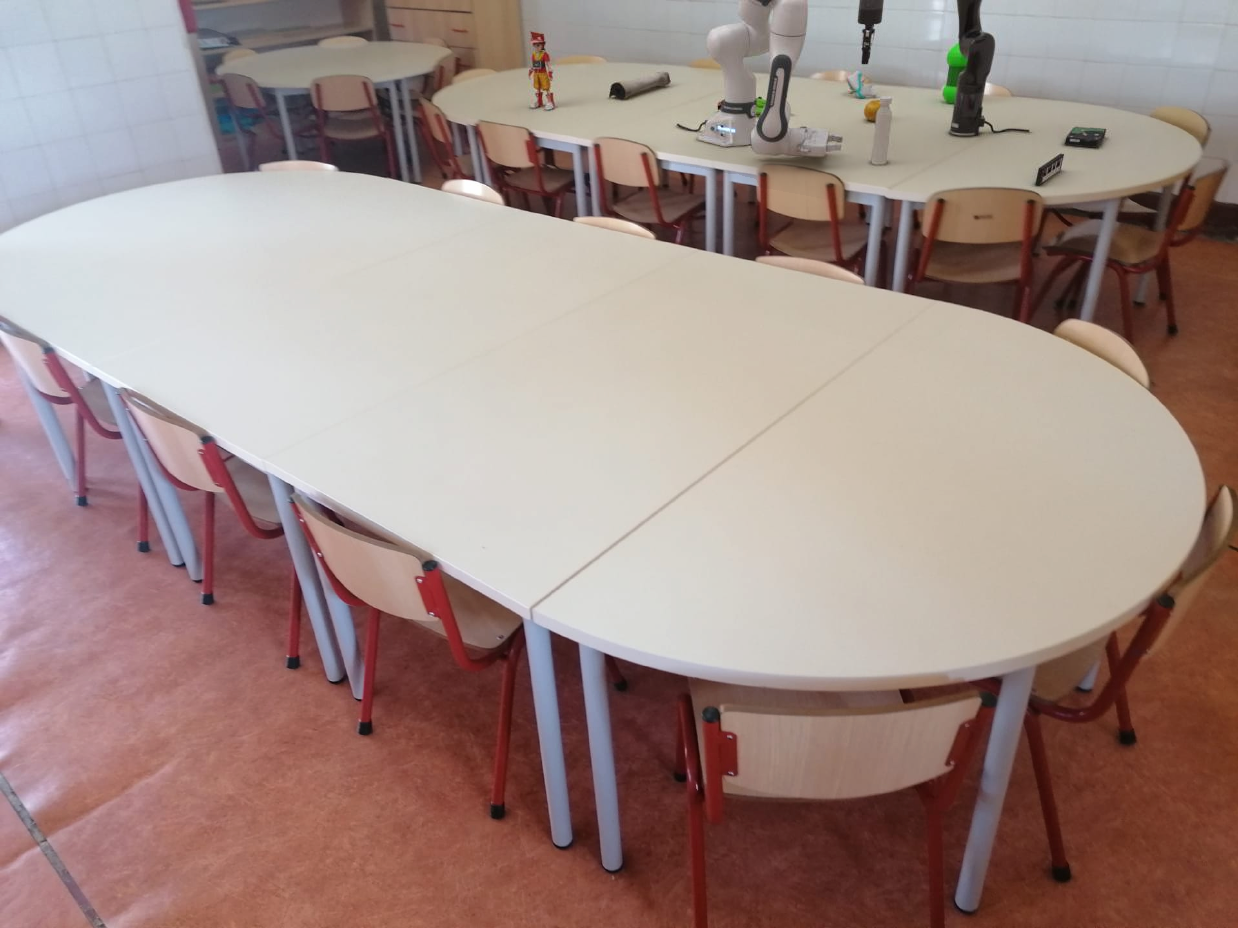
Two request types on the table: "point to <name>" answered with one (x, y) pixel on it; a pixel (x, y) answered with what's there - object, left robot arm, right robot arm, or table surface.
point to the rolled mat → (638, 84)
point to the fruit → (872, 109)
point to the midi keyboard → (1049, 169)
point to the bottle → (881, 135)
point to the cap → (885, 100)
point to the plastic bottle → (953, 72)
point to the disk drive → (1085, 136)
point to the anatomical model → (860, 85)
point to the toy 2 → (760, 105)
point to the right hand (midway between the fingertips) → (865, 61)
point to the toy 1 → (541, 71)
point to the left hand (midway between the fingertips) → (841, 143)
